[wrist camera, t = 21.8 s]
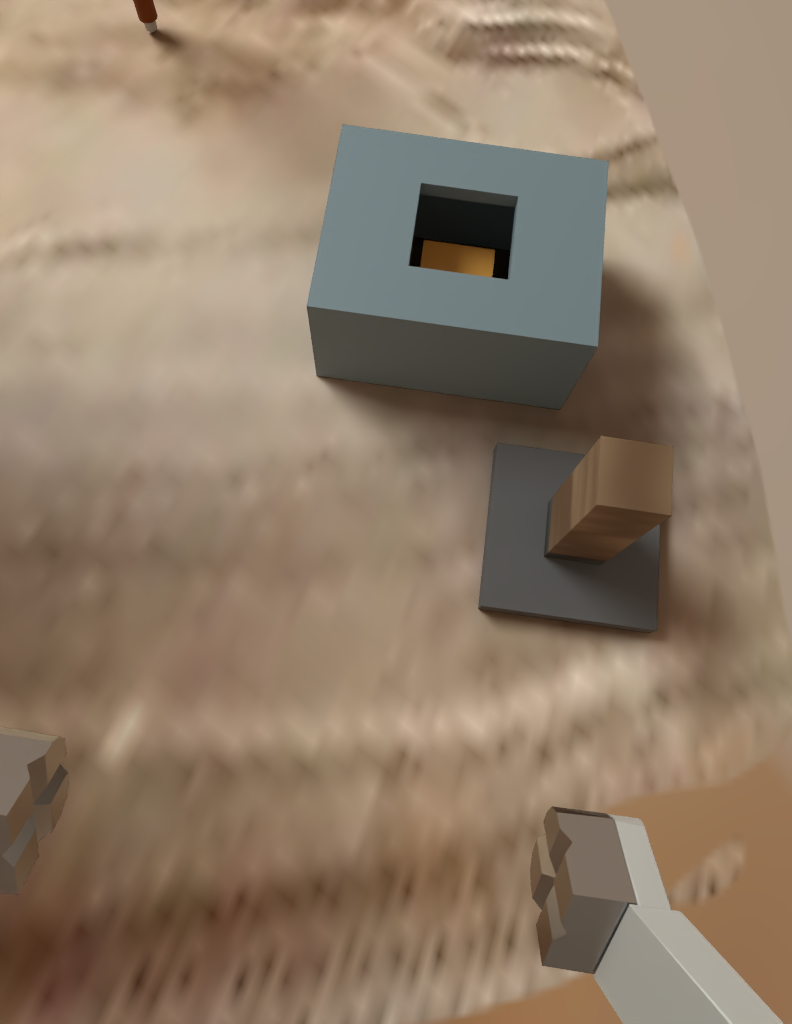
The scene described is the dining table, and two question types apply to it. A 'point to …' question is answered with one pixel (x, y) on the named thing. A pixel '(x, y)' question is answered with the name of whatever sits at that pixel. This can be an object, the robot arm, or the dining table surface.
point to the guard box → (450, 295)
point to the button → (457, 258)
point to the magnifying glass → (146, 13)
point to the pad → (555, 582)
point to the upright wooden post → (609, 500)
